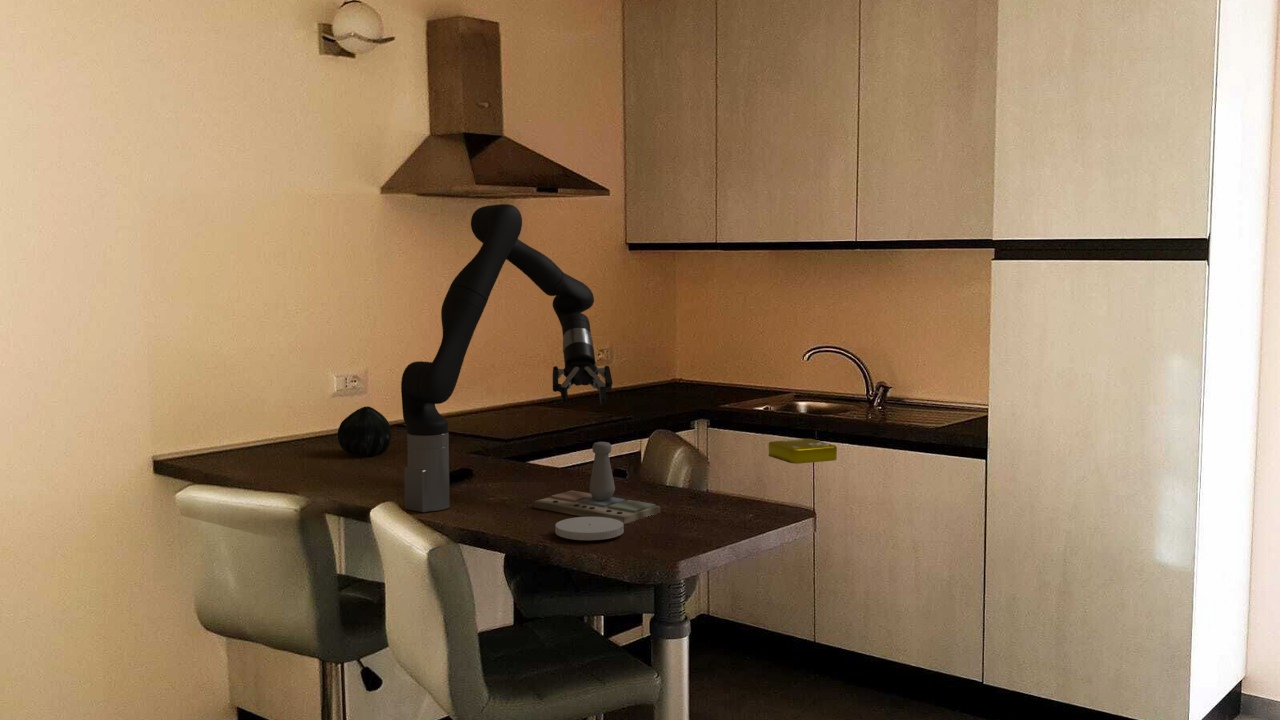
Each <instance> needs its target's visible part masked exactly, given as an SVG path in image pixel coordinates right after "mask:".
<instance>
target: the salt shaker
mask: <svg viewBox="0 0 1280 720" xmlns="http://www.w3.org/2000/svg"><path fill="white" fill-rule="evenodd" d="M591 449H592V453H593V454H594V458H593V465H592V471H591V476H590V481H589V488H588V489H589V493H590V494H591V495H592V498H593V499H594V500H596V501H607V500H611V497H613V495H614V493H615V491H616V487H615V481H614V476H613V471H612V466H611V462H610V461H611V460H610V455H609V454H610V453H611V452H612V451H613V450H612V444H611V443H610V442H607V441H597V442H594V443H593V444H592V448H591Z"/></svg>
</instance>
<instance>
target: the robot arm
mask: <svg viewBox="0 0 1280 720" xmlns="http://www.w3.org/2000/svg"><path fill="white" fill-rule="evenodd" d="M470 218H471V219H470V228H471V231H472V234H473V236H475V238H476V239H477V240H478V241H479V242H480V243H482V244H481V247H480V248H479V250H478V252H477V253H476V254H475V256H474V257H473V258H472V259H471V260H470V261H469V262H468V263H467V264H466V265H465V266H464V267H463V268H462V269H461V271H460V272H458V273H457V275H455V278H454V279H453V280H452V281H451V284H450V285H449V288H448V290H447V292H446V295H445V297H444V300H443V302H442V304H441V311H440V313H441V315H440V318H441V328H442V337H441V342H440V345H439V348H438V350H437V353H436V355H435V356H434V358H433V360H432V361H419V360H418V361H417V360H416V361H413V362H411V363H409V364H408V365H407V366H406V367H405V368H404V371H403V373H402V376H401V382H400V385H401V386H400V389H401V392H400V393H401V405H402V408H401V409H402V417H403V421H404V423H405V427H406V444H407V446H406V448H407V453H406V454H407V466H405V467H404V468H403V470H404V471H403V472H404V473H403V474H404V478H403V479H404V509H405V510H409V511H415V512H419V513H426V512H438V511H442V510H443V511H444V510H446V509H448V508H450V458H449V457H450V455H449V454H450V453H449V452H450V451H449V449H450V448H449V447H450V445H449V440H450V439H449V438H450V437H449V421H448V419H447V418H446V417H444V416H443V415H442V414H441V413H440V412H439V411H438V410H437V407H436V405H440V404H444V403H445V402H447V401H448V400H449V399H450V397H452V394H453V393H454V391H455V389H456V386H457V383H458V380H459V376H460V374H461V370H462V367H463V363H464V361H465V360H464V359H465V357H466V354H467V351H468V348H469V346H470V343H471V341H472V339H473V336H474V333H475V330H476V329H477V326H478V323H479V322H480V320H481V317H482V315H483V313H484V310H485V308H486V305H487V303H488V300H489V298H490V295H491V293H492V291H493V289H494V286H495V284H496V282H497V279H498V277H499V275H500V272H501V271H502V268H503V266H504V264H505V263H506V261H508V262H509V263H510V264H512V265H513V266H514V267H516V268H517V269H518V270H520V271H521V272H522V273H523V274H524V275H526V277H528V279H529V280H531V281H532V282H533V283H534V284H535V285H536V287H538V288H539V289H540V290H541V291H542V292H543V293H544V294H545V295H546V296H549V297H554V298H553V300H552V309H553V310H554V312H555V314H556V316H557V319H558V322H559V324H560V326H561V332H562V353H563V361H564V368H559V367H558V366H553V367H552V391H553V392H555V393H556V392H559V393H560V398H561V399H560V400H561V403H562V404H564V406H569V394H568V391H569V390H570V389H571V388H572V386H573V385H575V386H589V385H590V386H591V387H592V388H593V389H595V390H597V391H598V396H599V397H598V398H599V404H600V405H601V406H602V405H604V403H606V401H607V391H608V392H611V391H612V389H613V388H612V387H613V378H612V374H611V369H610V366H609V365H604V367H602V368H601V367H599V368H598V366H597V363H596V355H595V348H594V341H593V339H592V338H593V337H592V334H591V324H590V319H589V318H588V316H587V315H586V314H584V312H585V311H587V310H589V309H590V308H592V306H593V305H594V303H595V297H594V294H593V292H592V290H591V288H590V287H589V286H588V285H586V284H585V283H584V282H582V281H580V280H578V279H576V278H575V277H573V276H571V275H569V274H567V273H565V272H564V271H563V270H562V269H561V268H560V267H559V266H558V265H557V264H556V263H555V262H554V261H553V260H552V259H550V258H549V257H548V256H546V255H545V254H543V252H541V251H538V250H537V249H535V248H533V247H531V246H529V245H528V244H526V243H525V242H523V241H522V240H520V239H519V238H520V235H521V231H522V227H523V217H522V214H521V211H520V210H519V208H517V206H515V205H513V204H506V203H501V204H492V205H485V206H481V207H479V208H477V209H476V210H475V211H474V212H473V214H472V215H471V217H470ZM599 374H600V376H601V377H602V378H604V382H603V381H602V380H601V378H600V377H599ZM562 375H563V376H564V377H565V379H564V381H563V382H562V383H559V379H560V378H561V377H562Z"/></svg>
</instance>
